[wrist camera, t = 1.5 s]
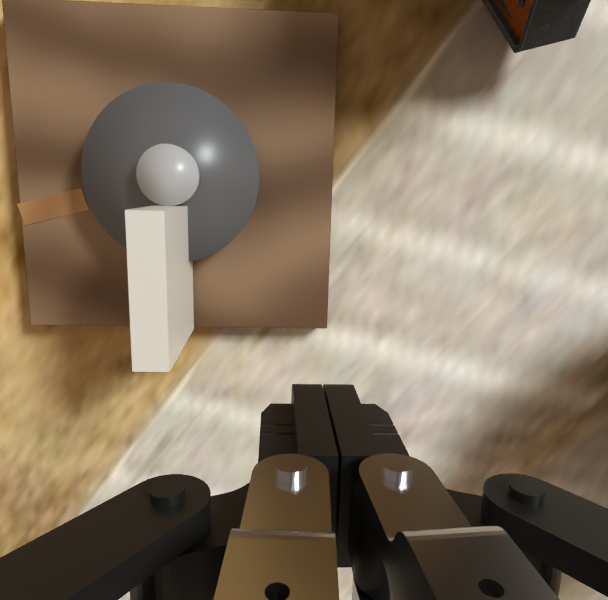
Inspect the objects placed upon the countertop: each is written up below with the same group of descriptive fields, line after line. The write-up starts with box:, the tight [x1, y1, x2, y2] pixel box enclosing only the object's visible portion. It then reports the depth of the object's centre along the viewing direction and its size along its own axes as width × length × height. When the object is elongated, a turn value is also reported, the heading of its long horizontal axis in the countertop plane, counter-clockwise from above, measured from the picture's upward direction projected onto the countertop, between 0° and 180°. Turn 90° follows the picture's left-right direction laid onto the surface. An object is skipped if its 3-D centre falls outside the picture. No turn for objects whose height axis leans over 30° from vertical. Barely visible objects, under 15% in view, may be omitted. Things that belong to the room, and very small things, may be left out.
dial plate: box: [2, 0, 339, 328], centre depth 29 cm, size 17×17×2 cm
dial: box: [81, 82, 260, 372], centre depth 25 cm, size 13×9×7 cm
